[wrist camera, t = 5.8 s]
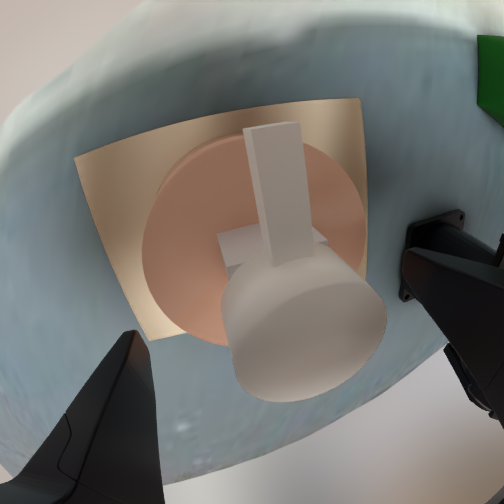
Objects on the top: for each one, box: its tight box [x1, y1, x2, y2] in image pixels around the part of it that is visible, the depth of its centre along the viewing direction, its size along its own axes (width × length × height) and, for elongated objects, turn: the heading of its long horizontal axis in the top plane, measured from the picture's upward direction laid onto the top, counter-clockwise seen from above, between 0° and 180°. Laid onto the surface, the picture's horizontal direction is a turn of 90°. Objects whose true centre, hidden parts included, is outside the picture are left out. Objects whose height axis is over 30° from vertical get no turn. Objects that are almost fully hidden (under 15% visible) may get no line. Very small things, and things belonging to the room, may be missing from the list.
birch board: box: [74, 98, 368, 341], centre depth 14 cm, size 14×11×1 cm
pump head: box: [221, 122, 387, 402], centre depth 8 cm, size 4×7×5 cm, turn 9°
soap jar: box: [142, 132, 366, 346], centre depth 11 cm, size 9×9×6 cm
